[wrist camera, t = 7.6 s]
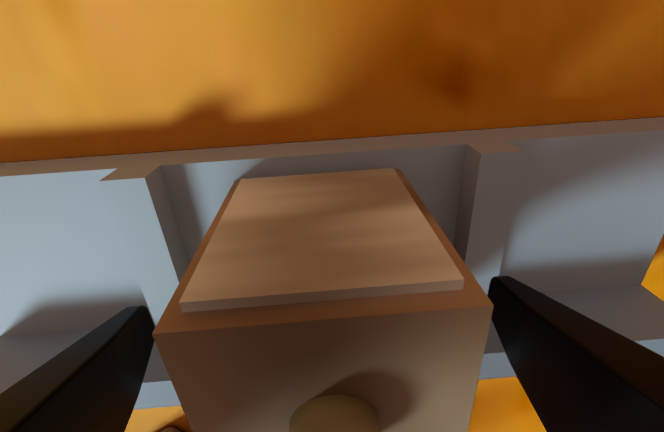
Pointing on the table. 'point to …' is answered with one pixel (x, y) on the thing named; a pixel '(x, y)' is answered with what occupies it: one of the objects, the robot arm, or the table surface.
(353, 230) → the cabinet block
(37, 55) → the table surface
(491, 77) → the table surface
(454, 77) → the table surface
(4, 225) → the grey slotted rack
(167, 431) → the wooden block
